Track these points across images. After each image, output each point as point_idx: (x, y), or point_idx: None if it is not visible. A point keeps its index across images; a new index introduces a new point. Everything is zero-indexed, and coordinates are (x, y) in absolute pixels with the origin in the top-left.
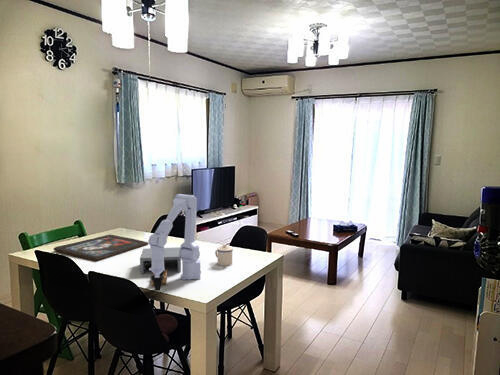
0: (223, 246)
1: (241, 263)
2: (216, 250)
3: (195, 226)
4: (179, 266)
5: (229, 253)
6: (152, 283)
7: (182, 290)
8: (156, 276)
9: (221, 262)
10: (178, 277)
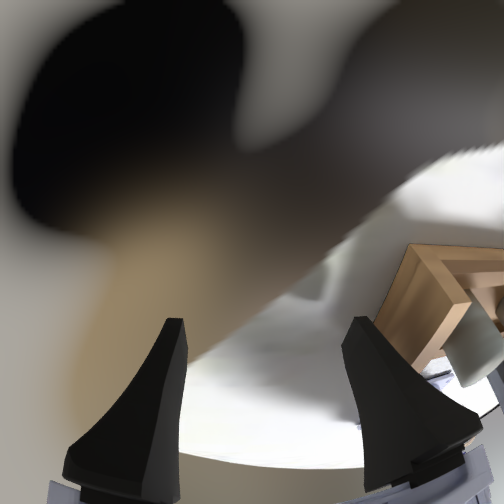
0: None
1: None
2: (471, 440)
3: None
4: (493, 379)
5: None
6: (420, 270)
7: (236, 404)
8: (58, 497)
9: None
10: (436, 367)
